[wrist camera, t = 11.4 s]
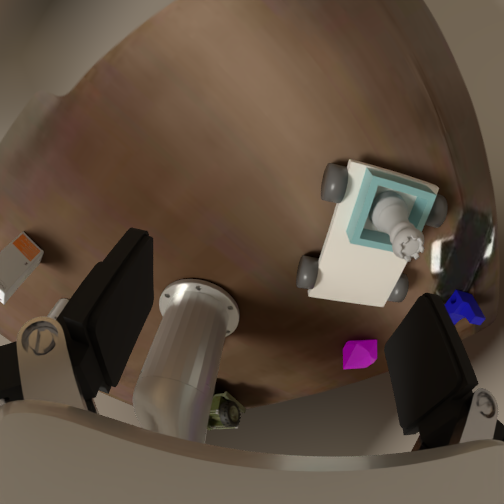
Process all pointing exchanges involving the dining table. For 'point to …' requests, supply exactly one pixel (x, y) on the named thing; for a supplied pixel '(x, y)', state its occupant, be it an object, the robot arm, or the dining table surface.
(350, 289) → the chassis
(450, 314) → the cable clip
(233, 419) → the toy jeep
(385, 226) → the rook chess piece
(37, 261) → the skincare box
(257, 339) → the dining table surface
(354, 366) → the crystal
